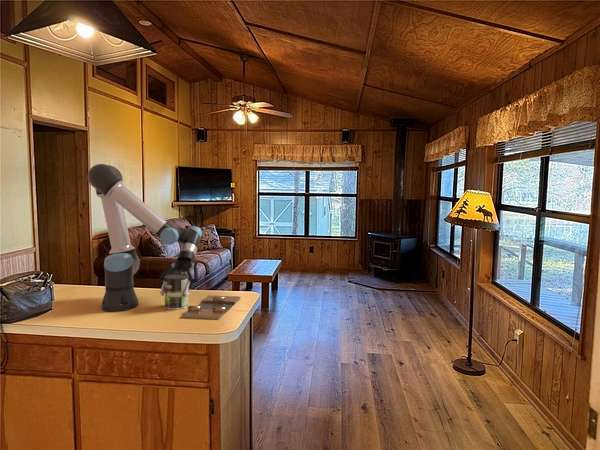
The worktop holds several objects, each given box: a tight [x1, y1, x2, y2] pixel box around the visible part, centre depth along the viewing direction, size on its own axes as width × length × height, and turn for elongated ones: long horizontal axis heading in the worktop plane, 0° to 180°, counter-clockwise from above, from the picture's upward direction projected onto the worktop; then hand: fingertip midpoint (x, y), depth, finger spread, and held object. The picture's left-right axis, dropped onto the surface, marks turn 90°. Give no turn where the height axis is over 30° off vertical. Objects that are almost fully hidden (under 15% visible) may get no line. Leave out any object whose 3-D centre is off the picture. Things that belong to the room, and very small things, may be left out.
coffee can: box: [164, 273, 189, 311], centre depth 180 cm, size 10×10×14 cm
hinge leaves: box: [181, 294, 241, 320], centre depth 178 cm, size 16×31×3 cm, turn 172°
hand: (173, 294), depth 177 cm, fingers open, 11 cm apart
